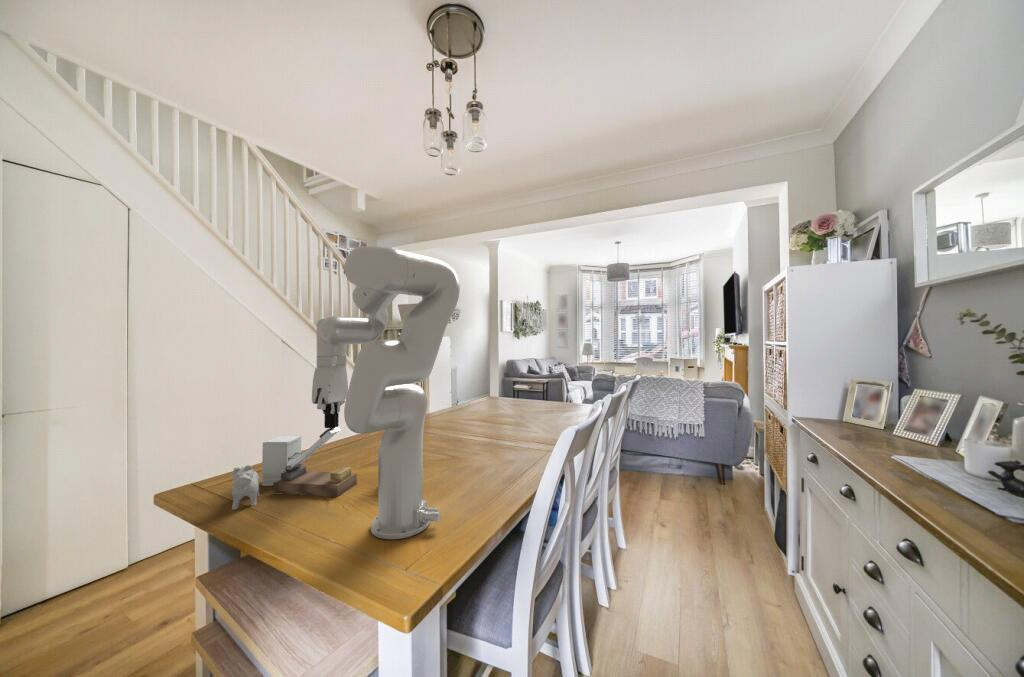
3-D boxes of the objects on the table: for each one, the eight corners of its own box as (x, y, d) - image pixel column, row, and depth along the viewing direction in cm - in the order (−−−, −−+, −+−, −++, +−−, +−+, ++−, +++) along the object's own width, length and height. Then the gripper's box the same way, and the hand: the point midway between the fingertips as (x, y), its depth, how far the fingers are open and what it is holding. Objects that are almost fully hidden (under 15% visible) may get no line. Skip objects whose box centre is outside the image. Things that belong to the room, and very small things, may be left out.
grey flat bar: (341, 430, 103) (337, 425, 103) (331, 434, 98) (327, 428, 98) (299, 467, 104) (295, 462, 104) (287, 473, 99) (283, 467, 100)
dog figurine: (228, 516, 85) (228, 471, 85) (236, 497, 95) (236, 457, 96) (255, 511, 87) (256, 467, 87) (260, 492, 98) (260, 453, 98)
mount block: (356, 483, 104) (356, 465, 104) (337, 496, 95) (337, 476, 95) (297, 481, 106) (297, 462, 107) (273, 493, 98) (273, 473, 98)
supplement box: (286, 486, 103) (286, 442, 103) (261, 486, 103) (261, 442, 103) (302, 476, 110) (302, 435, 110) (278, 476, 110) (278, 435, 111)
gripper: (335, 361, 109) (335, 421, 108) (300, 363, 94) (300, 433, 94) (358, 361, 108) (358, 422, 107) (326, 363, 93) (326, 434, 93)
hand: (331, 427), depth 101 cm, fingers closed
